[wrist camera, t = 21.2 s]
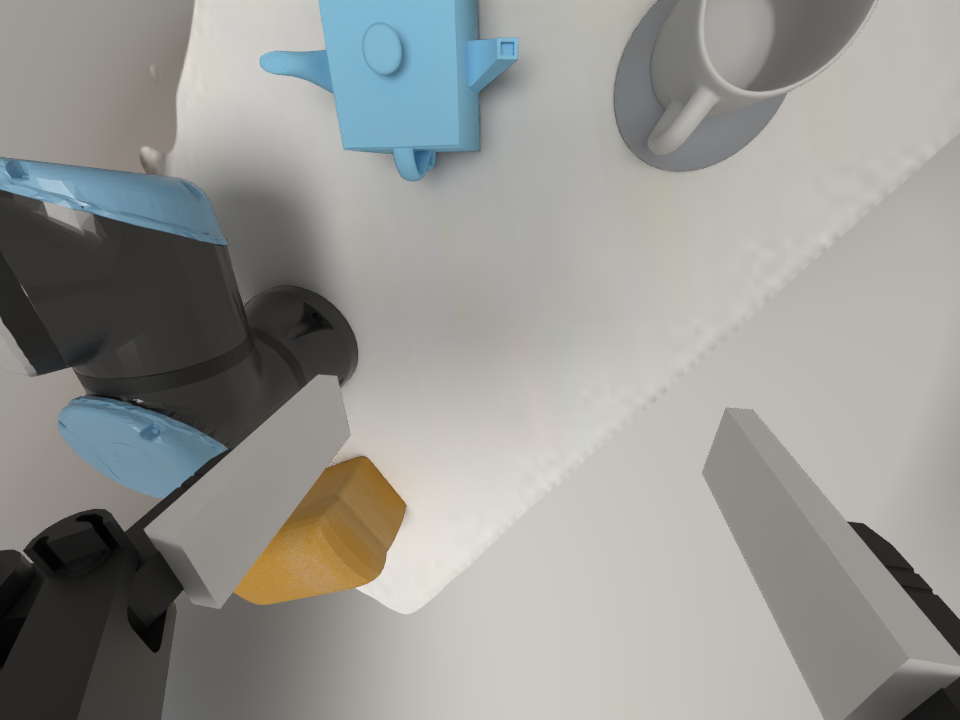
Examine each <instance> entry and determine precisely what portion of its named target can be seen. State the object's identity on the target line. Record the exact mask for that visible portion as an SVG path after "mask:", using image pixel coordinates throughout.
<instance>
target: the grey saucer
mask: <svg viewBox="0 0 960 720" xmlns="http://www.w3.org/2000/svg"><path fill="white" fill-rule="evenodd" d="M679 1H680V0H658V1H657V2H656V3H655V4H654V5H653V6H652V8H651V9H650V10H649V11H648V13H647V14H646V15H645V16H644V18H643V19H642V21H641V22H640V24H639V25H638V27H637V28H636V30H635V31H634V33H633V35H632V37H631V39H630V41H629V42H628V44H627V46H626V49H625V51H624V54H623V56H622V59H621V62H620V65H619V68H618V72H617V77H616V83H615V92H614V107H615V115H616V121H617V124H618V127H619V131H620V133H621V135H622V137H623V139H624V141H625V142H626V144H627V145H628V147H629V148H630V149H631V151H632V152H633V153H634V154H635V155H636V156H637V157H639V158H640V159H641V160H642V161H644V162H646V163H647V164H649V165H651V166H654V167H656V168H659V169H663V170H668V171H693V170H698V169H702V168H706V167H709V166H712V165H715V164H717V163H719V162H721V161H723V160H725V159H727V158H729V157H730V156H732V155H734V154H735V153H737V152H738V151H739V150H741V149H742V148H743V147H745V146H746V145H747V144H748V143H750V142H751V141H752V140H753V139H754V138H755V137H756V136H757V135H758V134H759V133H760V132H761V131H762V130H763V129H764V128H765V126H766V125H767V124H768V123H769V121H770V120H771V119H772V117H773V116H774V115H775V113H776V112H777V110H778V108H779V107H780V105H781V103H782V102H783V100H784V98H785V96H786V94H787V93H784V94H781V95H778V96H775V97H772V98H769V99H766V100H763V101H759V102H756V103H753V104H750V105H747V106H743V107H740V108H737V109H734V110H730V111H727V112H725V113H722V114H719V115H716V116H714V117H710V118H706V119H703V120H702V121H701V123H700V124H699V125H698V126H697V128H696V129H695V130H694V131H693V133H692V134H691V135H690V136H689V137H688V138H687V139H686V141H685V142H684V143H683V144H682V145H681V146H679V147H678V148H677V149H676V150H674V151H672V152H670V153H668V154H665V155H657V154H655V153H653V152H652V151H651V150H650V149H649V147H648V145H647V143H648V138H649V136H650V134H651V132H652V131H653V129H654V127H655V126H656V124H657V123H658V121H659V120H660V118H661V117H662V115H663V114H664V112H665V111H666V109H665V108H664V107H663V106H662V105H661V104H660V102H659V101H658V99H657V97H656V95H655V93H654V90H653V87H652V82H651V74H650V65H651V57H652V52H653V48H654V44H655V41H656V38H657V36H658V34H659V31H660V29H661V27H662V25H663V24H664V22H665V20H666V18H667V17H668V15H669V14H670V13H671V11H672V10H673V8H674V7H675V6H676V5H677V3H678V2H679Z"/></svg>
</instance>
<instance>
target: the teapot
mask: <svg viewBox="0 0 960 720" xmlns="http://www.w3.org/2000/svg"><path fill="white" fill-rule="evenodd" d="M319 6H320V13H321V19H322V25H323V31H324V37H325V43H326V49H327V50H322V51H310V52H289V51H273V52H269V53H266V54H264V55H263V56H262V57H261V58H260V65H261V67H262V68H263V69H264V70H265V71H267V72H269V73H272V74H277V75H286V76H293V77H298V78H302V79H304V80H307V81H310V82H312V83H314V84H316V85H318V86H320V87H322V88H324V89H326V90H328V91H330V92H332V93H334V97H335V103H336V109H337V115H338V120H339V126H340V132H341V137H342V143H343V148H344V150H352V151H363V152H374V153H385V154H387V153H393V155H394V160H395V164H396V167H397V170H398V172H399V174H400V175H401V177H402V178H403V179H405V180H407V181H418V180H420V179H422V178H423V177H424V175H425V173H426V171H428V170H431V169H432V168H433V167H434V165H435V158H436V153H435V152H464V151H480V116H479V91H481V90H482V89H483V88H484V87H485V86H487V85H488V84H489V83H490V82H491V81H493V80H494V79H495V78H496V77H497V76H499V75H500V74H501V73H502V72H503V71H505V70H506V69H507V68H508V67H510V66H511V65H512V64H513V63H514V62H516V61H517V60H518V38H502V37H497V39H485V40H478V0H319Z"/></svg>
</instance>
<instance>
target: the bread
mask: <svg viewBox="0 0 960 720" xmlns="http://www.w3.org/2000/svg"><path fill="white" fill-rule="evenodd" d="M405 507H406V504H405V503H404V501H403V500H402V499H401V497H400V496H399V495H398V494H397V493H396V491H395V490H394V489H393V488H392V486H391V485H390V484H389V483H388V482H387V480H386V479H385V478H384V477H383V475H382V474H381V473H380V472H379V471H378V469H377V468H376V467H375V466H374V464H373V463H372V462H371V461H370V460H369V459H368V458H367V457H357V458H353V459H350V460H347V461H345V462H342V463H339V464H336V465H334V466H331V467H328V468H325V470H324V471H323V472H322V474H321V475H320V476H319V478H318V479H317V480H316V482H315V483H314V484H313V486H312V487H311V488H310V490H309V491H308V492H307V494H306V495H305V496H304V498H303V499H302V500H301V502H300V503H299V504H298V506H297V507H296V508H295V510H294V511H293V512H292V514H291V515H290V516H289V518H288V519H287V520H286V522H285V523H284V524H283V526H282V527H281V528H280V530H279V531H278V532H277V534H276V535H275V536H274V538H273V539H272V540H271V542H270V543H269V544H268V546H267V547H266V548H265V550H264V551H263V552H262V554H261V555H260V556H259V558H258V559H257V560H256V562H255V563H254V564H253V566H252V567H251V568H250V570H249V571H248V572H247V574H246V575H245V576H244V578H243V579H242V580H241V582H240V583H239V584H238V586H237V587H236V588H235V590H234V591H233V592H234V593H236V594H237V595H238V596H240V597H242V598H244V599H246V600H248V601H250V602H252V603H255V604H258V605H267V604H273V603H279V602H284V601H289V600H295V599H300V598H305V597H310V596H316V595H321V594H326V593H332V592H337V591H342V590H347V589H352V588H356V587H359V586H362V585H365V584H368V583H369V582H371V581H373V580H374V579H376V578H377V577H378V576H379V575H380V573H381V572H382V570H383V568H384V565H385V562H386V552H387V551H388V550H389V548H390V547H391V545H392V543H393V541H394V539H395V537H396V535H397V533H398V531H399V528H400V526H401V523H402V521H403V518H404V513H405Z"/></svg>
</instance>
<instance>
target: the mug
mask: <svg viewBox="0 0 960 720" xmlns="http://www.w3.org/2000/svg"><path fill="white" fill-rule="evenodd" d="M877 3H878V0H680V1H679V2H678V3H677V5H676V6H675V7H674V8H673V10H672V11H671V13H670V14H669V15H668V17H667V18H666V20H665V22H664V24H663V25H662V27H661V29H660V31H659V34H658V36H657V38H656V41H655V44H654V48H653V52H652V57H651V65H650V74H651V82H652V87H653V90H654V93H655V95H656V97H657V99H658V101H659V102H660V104H661V105H662V106H663V107H664V108H665V109H666V111H665V112H664V114H663V115H662V117H661V118H660V120H659V121H658V123H657V124H656V126H655V127H654V129H653V131H652V132H651V134H650V136H649V138H648V143H647V145H648V147H649V149H650V150H651V151H652V152H653V153H655V154H657V155H665V154H668V153H670V152H672V151H674V150H676V149H677V148H678V147H679V146H681V145H682V144H683V143H684V142H685V141H686V139H687V138H688V137H689V136H690V135H691V134H692V133H693V131H694V130H695V129H696V128H697V126H698V125H699V124H700V123H701V121H702V120H703V119H706V118H710V117H714V116H716V115H719V114H722V113H725V112H727V111H730V110H734V109H737V108H740V107H743V106H747V105H750V104H753V103H756V102H759V101H763V100H766V99H769V98H772V97H775V96H778V95H781V94H784V93H787V92H789V91H791V90H793V89H795V88H797V87H799V86H802V85H803V84H805V83H807V82H808V81H810V80H811V79H813V78H815V77H816V76H817V75H819V74H820V73H821V72H823V71H824V70H825V69H827V68H828V67H829V66H830V65H831V64H832V63H833V62H835V61H836V60H837V59H838V58H839V57H840V56H841V55H842V54H843V52H844V51H845V50H846V49H847V48H848V47H849V46H850V45H851V44H852V42H853V41H854V40H855V39H856V37H857V36H858V35H859V33H860V32H861V30H862V29H863V27H864V26H865V24H866V23H867V21H868V20H869V18H870V16H871V14H872V13H873V11H874V9H875V7H876V5H877Z"/></svg>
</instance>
